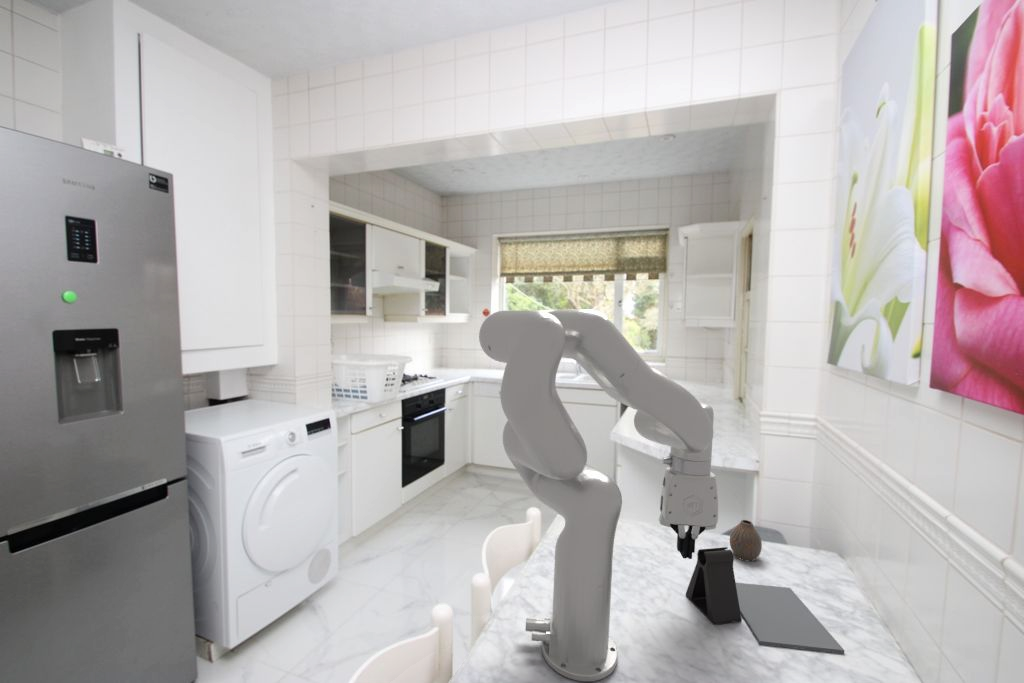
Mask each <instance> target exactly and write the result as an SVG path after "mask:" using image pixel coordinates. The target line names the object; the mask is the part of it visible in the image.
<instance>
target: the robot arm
mask: <svg viewBox="0 0 1024 683" xmlns="http://www.w3.org/2000/svg"><path fill="white" fill-rule="evenodd" d="M478 332H479V333H478V339H479V340H478V341H479V344H480V347H481V349H482V350H483V352H484V354H485V355H486V356H487V357H489V358H490V359H492V360H494V361H497V362H500V363H504V364H506V365H505V368H504V372H503V376H502V380H501V385H500V392H499V394H500V395H499V396H500V398H499V399H500V403H501V407H502V408H501V409H502V410H503V413H504V416H505V418H506V420H507V421H506V423H505V425H504V427H503V428H504V429H503V432H502V444H503V448H504V451H505V454H506V456H507V457H508V460H509V461H510V462H511V464H512V465H513V467H514V468H515V470H516V471H517V473H518V474H519V475H520V477H521V478H522V480H523V482H524V483H525V485H526V486H527V488H529V491H530V492H531V493H532V494H533V496H534V497H535V498H536V499H537V500H538V501H539V502H541V503H542V504H544V505H545V506H547V507H548V508H549V509H551V510H552V511H554V512H556V513H557V514H558V515H559V516H561V517H562V518H563V519H564V527H563V528H562V530H561V532H560V534H559V535H558V537H557V539H556V542H555V546H554V548H555V550H554V569H553V571H554V572H553V593H552V595H553V596H552V611H550V616H549V617H550V618H544V620H543V619H542V620H541V619H537V618H530V617H529V618H525V632H531V641H532V642H541V651H542V655H543V657H544V660H545V661H546V663H547V664H548V665H549V666H550V667H551V669H553V670H554V671H555V672H557V673H558V674H560V675H561V676H563V677H565V678H567V679H570V680H574V681H579V682H586V683H587V682H596V681H600V680H603V679H605V678H606V677H608V676H610V675H611V674H612V673H613V671H615V669H616V667H617V663H618V648H617V645H616V643H615V641H614V640H613V638H612V637H611V636H610V618H611V616H610V615H611V601H612V599H611V598H612V597H611V596H612V578H613V577H612V576H613V559H614V544H615V538H616V531H617V527H618V523H619V519H620V515H621V511H622V506H623V497H622V491H621V489H620V487H619V486H618V484H617V483H616V481H615V480H614V479H613V478H612V477H611V476H610V475H608V474H607V473H605V472H604V471H602V470H600V469H598V468H596V467H593V466H591V465H589V464H587V462H588V451H587V446H586V444H585V441H584V438H583V436H582V434H581V433H580V431H579V430H578V428H577V427H576V425H575V423H574V421H573V420H572V418H571V416H570V414H569V413H568V411H567V409H566V407H565V405H564V404H563V402H562V400H561V398H560V395H559V394H558V391H557V387H556V386H557V385H556V381H557V380H556V378H557V374H558V370H559V367H560V363H561V361H562V358H566V359H572V360H574V361H576V362H577V363H578V365H580V366H581V367H582V368H583V370H584V371H585V372H586V373H587V374H588V375H589V376H590V377H591V378H592V379H593V380H594V381H595V382H596V383H597V385H599V387H600V388H601V389H602V390H603V391H604V393H606V394H607V395H608V396H609V397H611V398H612V399H613V400H615V401H617V402H619V403H621V404H623V405H624V406H627V407H628V408H631V409H634V410H636V412H635V414H634V417H633V423H634V429H635V430H636V432H637V434H639V436H641V437H643V439H646V440H649V441H651V442H654V443H656V444H660V445H664V446H667V447H670V449H669V450H670V452H669V453H668V456H665V457H664V456H663V457H662V465H667V466H668V467H666V468H665V472H664V477H663V480H662V485H661V491H660V501H659V511H660V513H659V518H658V522H659V524H660V525H661V526H664V527H667V528H671V529H672V530H673V531H674V532H675V534H677V539H676V540H677V541H676V549H677V552H679V553H680V556H682V558H683V559H689V560H692V559H693V554H695V551H696V550H695V549H696V540H697V539H698V538H699V535H701V534H702V533H703V532H704V531H710V530H715V529H716V528H717V524H718V521H719V500H718V498H719V497H718V484H717V478H716V475H715V473H713V472H712V457H713V456H712V455H713V453H712V451H713V438H714V420H715V419H714V415H715V414H714V410H713V407H712V406H711V405H709V404H708V403H704V402H699V400H697V398H696V397H695V396H694V395H693V393H691V392H690V391H689V390H687V388H685V387H683V386H682V385H681V384H679V383H677V382H676V381H674V380H673V379H671V378H670V377H669V376H668V375H667V376H666V375H665V374H664V373H662V372H661V371H660V370H658V369H657V368H654V367H653V366H651V365H649V363H647V362H645V360H643V358H642V357H641V355H640V354H639V352H637V351H636V350H635V348H634V347H633V345H631V344H630V342H629V341H628V340H627V338H626V337H625V336H624V335H623V333H622V332H621V331H620V330H619V329H618V328H617V326H616V325H615V324H614V323H613V322H612V320H611V319H610V318H609V317H608V316H607V315H606V314H604V313H603V312H602V311H600V310H596V309H591V308H570V309H569V308H564V309H563V308H561V309H559V308H558V309H557V308H556V309H545V310H533V309H532V310H531V309H530V310H527V309H526V310H525V309H524V310H499V311H496V312H494V313H492V314H490V315H489V316H488V317H486V318H485V319H484V320H483V322H482V323H481V325H480V328H479V331H478ZM685 526H687V530H686V527H685Z"/></svg>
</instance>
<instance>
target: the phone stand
mask: <svg viewBox="0 0 1024 683" xmlns="http://www.w3.org/2000/svg"><path fill="white" fill-rule="evenodd" d="M696 555H697V561H696V564H695V566H694V570H693V572H692V575H691V578H690V581H689V584H688V586H687V589H686V592H685V597H686V598H687V599H688V600H689V601H690V602H691V603H692V604H693V605H694V607H696V608H697V609H698V611H700V613H701V614H702V615H703V616H704V617H705V618H706V619H707V620H708V621H709V622H710V623H711V624H712V625H722V624H723V625H724V624H730V623H737V622H742V616H741V613H740V607H739V601H738V595H737V589H736V583H737V582H736V577H735V573H734V560H735V557H734V553H733V551H732V549H728V546H725V547H723V546H722V547H713V548H702V549H701V548H700V549H698V551H697V554H696Z"/></svg>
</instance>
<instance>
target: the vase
mask: <svg viewBox="0 0 1024 683" xmlns="http://www.w3.org/2000/svg"><path fill="white" fill-rule="evenodd" d="M729 545H730V548H731V549H730V550H731V551H732V553H733V555H735V556H736V557H737V558H738V557H739V558H738V559H740V558H741V559H740V560H742V559H743V561H745V560H747V561H746V562H753V561H755V560H756V559H758V558H759V556H760V555H761V552H762V549H763V548H762V547H763V545H762V538H761V535H760V534H759V532H758V531H757V529H756V528H755V526H754V524H753V522H752V521H751V520H748V519H742V520H741V521H739V523H738V524H737V525H736V526H735V527H733V529H732V530H731V532H730V535H729ZM752 560H753V561H752Z"/></svg>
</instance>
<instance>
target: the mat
mask: <svg viewBox="0 0 1024 683" xmlns="http://www.w3.org/2000/svg"><path fill="white" fill-rule="evenodd" d="M735 583H736V589H737V595H738V601H739V607H740V613H741V618H743V620H744V622H745V623H746V625H747V627H748V629H749V630H750V632H751V633H752V635H753V637H754V638H755V640H756V641H757V643H758V644H759V645H763V646H773V647H780V648H781V647H782V648H790V649H799V650H808V651H818V652H827V653H836V654H845V649H844V648H843V647H842V646H841V644H840V643H839V642H838V641H837V640H836V639H835V637H833V635H832V634H831V633H830V632H829V631H828V630H827V628H826V627H825V626H824V625H823V624H822V623H821V622H820V621H819V619H818V618H817V616H815V615H814V614H813V612H812V611H811V610H810V609H809V608H808V607H807V605H806V604H805V603H804V602H803V601H802V600H801V599H800V597H799V596H798V595H797V593H795V592H794V591H793V590H792V588H791V587H787V586H786V587H784V586H774V585H764V584H755V583H742V582H735Z"/></svg>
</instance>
